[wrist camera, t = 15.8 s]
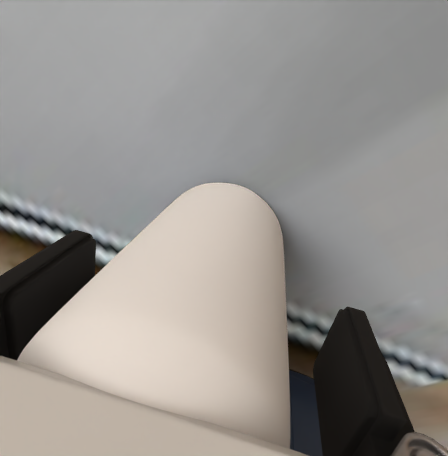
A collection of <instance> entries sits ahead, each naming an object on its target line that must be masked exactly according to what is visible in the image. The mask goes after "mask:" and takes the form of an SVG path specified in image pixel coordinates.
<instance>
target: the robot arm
mask: <svg viewBox="0 0 448 456" xmlns="http://www.w3.org/2000/svg"><path fill="white" fill-rule="evenodd" d="M95 253H96V241H95V239H93V237H92V235H91V234H89V233H85V232H81V231H78V230H75V231H73V232H71V233H69V234H68V235H66V236H64V237H63V238H61V239H60V240H58V241H56V242H55V243H53V244H51V245H50V246H48V247H47V248H45V249H43V250H42V251H40V252H38V253H37V254H35V255H34V256H32V257H30V258H29V259H27V260H25V261H24V262H22V263H21V264H19V265H17V266H16V267H14V268H12V269H11V270H9V271H8V272H6V273H4V274H3V275H1V276H0V456H309V455H306V454H303V453H300V452H297V451H294V450H291V449H289V448H286V447H283V446H280V445H277V444H274V443H271V442H268V441H265V440H262V439H259V438H256V437H253V436H250V435H247V434H244V433H241V432H238V431H235V430H232V429H229V428H226V427H223V426H220V425H217V424H214V423H210V422H207V421H203V420H199V419H195V418H191V417H187V416H183V415H179V414H176V413H172V412H168V411H165V410H161V409H158V408H154V407H151V406H147V405H144V404H141V403H138V402H135V401H131V400H128V399H125V398H122V397H119V396H116V395H114V394H111V393H108V392H105V391H102V390H100V389H97V388H95V387H92V386H89V385H87V384H84V383H82V382H79V381H77V380H74V379H71V378H69V377H66V376H64V375H62V374H59V373H56V372H52V371H49V370H46V369H43V368H40V367H37V366H34V365H30V364H27V363H24V362H20V361H17V360H18V358H19V356H20V354H21V352H22V351H23V349H24V348H25V347H26V345H27V344H28V343H29V342H30V340H31V339H32V338H33V337H34V336H35V335H36V333H37V332H38V331H39V330H40V329H41V328H42V327H43V326H44V325H45V324H46V323H47V322H48V321H49V320H50V319H51V318H52V317H53V316H54V315H55V314H56V313H57V312H58V311H59V310H60V309H61V308H62V307H63V306H64V305H65V304H66V303H67V302H68V301H69V300H70V299H71V298H72V297H74V296H75V295H76V294H77V293H78V292H79V291H80V290H81V289H82V288H83V287H84V286H85V285H86V284H87V283H88V282H89V281H90V280H91V279H92V278H93V277H94V276H95ZM313 375H314V384H315V392H316V401H317V410H318V418H319V427H320V436H321V445H322V453H323V456H448V451H447V450H446V449H445V448H444V447H443V446H442V445H441V444H439V443H438V442H436V441H435V440H434V439H432V438H430V437H428V436H426V435H424V434H421V433H416V432H415V431H414V429H413V426H412V424H411V422H410V419H409V417H408V414H407V412H406V409H405V407H404V404H403V402H402V399H401V397H400V394H399V392H398V389H397V387H396V384H395V382H394V379H393V377H392V374H391V372H390V369H389V367H388V364H387V362H386V360H385V358H384V357H383V356H382V354H381V351H380V349H379V346H378V344H377V341H376V339H375V336H374V334H373V331H372V329H371V326H370V324H369V321H368V319H367V316H366V314H365V312H364V311H361V310H358V309H354V308H351V307H346V308H345V309H344V310H343V309H340V310H339V312H338V314H337V316H336V318H335V320H334V322H333V324H332V326H331V328H330V331H329V333H328V335H327V337H326V339H325V341H324V343H323V345H322V347H321V350H320V352H319V354H318V356H317V358H316V360H315V363H314V367H313Z"/></svg>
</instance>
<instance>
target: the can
mask: <svg viewBox="0 0 448 456" xmlns="http://www.w3.org/2000/svg"><path fill="white" fill-rule="evenodd" d="M17 361H20V362H24V363H27V364H30V365H34V366H37V367H40V368H43V369H46V370H49V371H52V372H56V373H59V374H62V375H64V376H66V377H69V378H71V379H74V380H77V381H79V382H82V383H84V384H87V385H89V386H92V387H95V388H97V389H100V390H102V391H105V392H108V393H111V394H114V395H116V396H119V397H122V398H125V399H128V400H131V401H135V402H138V403H141V404H144V405H147V406H151V407H154V408H158V409H161V410H165V411H168V412H172V413H176V414H179V415H183V416H187V417H191V418H195V419H199V420H203V421H207V422H210V423H214V424H217V425H220V426H223V427H226V428H229V429H232V430H235V431H238V432H241V433H244V434H247V435H250V436H253V437H256V438H259V439H262V440H265V441H268V442H271V443H274V444H277V445H280V446H283V447H286V448H289V449H290V388H289V360H288V334H287V311H286V288H285V267H284V248H283V236H282V231H281V227H280V224H279V221H278V219H277V217H276V215H275V214H274V212H273V210H272V209H271V208H270V206H269V205H268V204H267V203H266V202H265V201H264V200H263V199H262V198H261V197H259V196H258V195H257V194H255V193H254V192H252V191H251V190H249V189H247V188H245V187H242V186H239V185H236V184H230V183H207V184H202V185H199V186H196V187H193V188H191V189H189V190H188V191H186V192H184V193H183V194H182V195H180V196H179V197H178V198H177V199H176V200H175V201H173V202H172V203H171V204H170V205H169V206H168V207H167V208H166V209H165V210H164V211H163V212H162V213H161V214H159V215H158V216H157V217H156V218H155V219H154V220H153V221H152V222H151V223H150V224H149V225H148V226H147V227H146V228H145V229H144V230H143V231H141V232H140V233H139V234H138V235H137V236H136V237H135V238H134V239H133V240H132V241H131V242H130V243H129V244H128V245H127V246H126V247H125V248H124V249H123V250H121V251H120V252H119V253H118V254H117V255H116V256H115V257H114V258H113V259H112V260H111V261H110V262H109V263H108V264H107V265H106V266H105V267H104V268H103V269H102V270H101V271H100V272H98V273H97V274H96V275H95V276H94V277H93V278H92V279H91V280H90V281H89V282H88V283H87V284H86V285H85V286H84V287H83V288H82V289H81V290H80V291H79V292H78V293H77V294H76V295H75V296H74V297H72V298H71V299H70V300H69V301H68V302H67V303H66V304H65V305H64V306H63V307H62V308H61V309H60V310H59V311H58V312H57V313H56V314H55V315H54V316H53V317H52V318H51V319H50V320H49V321H48V322H47V323H46V324H45V325H44V326H43V327H42V328H41V329H40V330H39V331H38V332H37V333H36V335H35V336H34V337H33V338H32V339H31V340H30V342H29V343H28V344H27V345H26V347H25V348H24V349H23V351H22V352H21V354H20V356H19V358H18V360H17Z"/></svg>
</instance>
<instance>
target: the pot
mask: <svg viewBox="0 0 448 456" xmlns="http://www.w3.org/2000/svg"><path fill="white" fill-rule="evenodd" d="M289 388H290V449H291V450H294V451H297V452H300V453H303V454H306V455H309V456H323V453H322V445H321V436H320V427H319V418H318V410H317V401H316V392H315V384H314V379H312V378H310V377H308V376H306V375H303V374H300V373H297V372H294V371H291V370H289Z"/></svg>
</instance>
